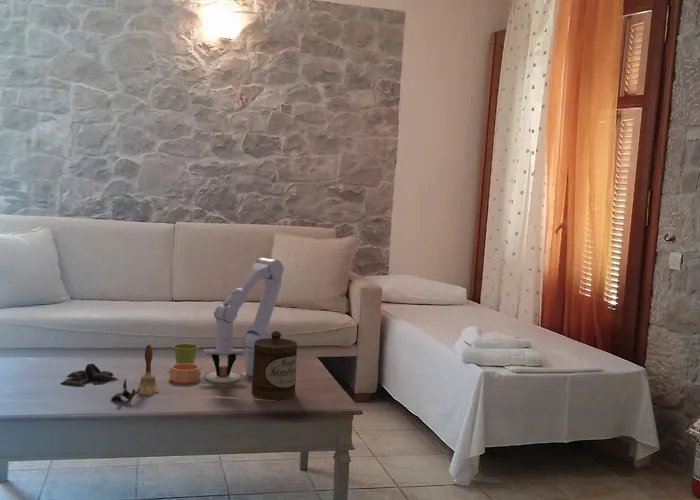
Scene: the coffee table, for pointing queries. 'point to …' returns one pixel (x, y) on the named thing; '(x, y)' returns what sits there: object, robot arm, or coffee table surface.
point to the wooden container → (274, 368)
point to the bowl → (185, 373)
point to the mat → (223, 383)
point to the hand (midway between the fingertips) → (223, 374)
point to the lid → (222, 376)
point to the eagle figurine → (126, 393)
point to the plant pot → (185, 353)
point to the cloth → (89, 377)
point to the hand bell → (148, 376)
